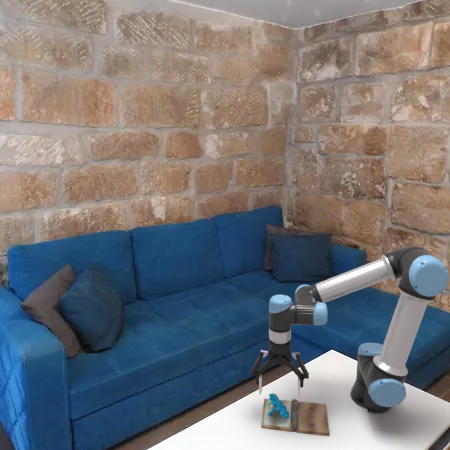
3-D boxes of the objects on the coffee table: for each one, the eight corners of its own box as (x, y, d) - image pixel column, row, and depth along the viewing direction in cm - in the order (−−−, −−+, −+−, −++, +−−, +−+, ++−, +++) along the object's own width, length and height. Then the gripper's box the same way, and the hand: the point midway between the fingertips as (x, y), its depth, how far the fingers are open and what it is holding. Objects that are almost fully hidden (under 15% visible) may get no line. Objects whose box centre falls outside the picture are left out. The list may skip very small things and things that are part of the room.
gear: (293, 421, 151) (274, 404, 149) (281, 432, 152) (261, 415, 150) (286, 401, 162) (268, 385, 160) (275, 411, 163) (257, 395, 161)
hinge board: (325, 406, 163) (326, 401, 162) (329, 436, 148) (329, 430, 147) (264, 401, 166) (264, 396, 165) (261, 429, 151) (261, 423, 150)
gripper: (316, 335, 152) (314, 389, 157) (245, 332, 156) (245, 384, 161) (317, 346, 145) (315, 402, 150) (242, 342, 149) (243, 397, 154)
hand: (279, 393), depth 155 cm, fingers open, 13 cm apart
